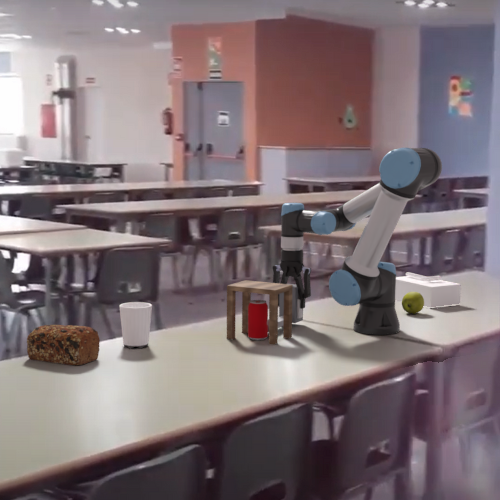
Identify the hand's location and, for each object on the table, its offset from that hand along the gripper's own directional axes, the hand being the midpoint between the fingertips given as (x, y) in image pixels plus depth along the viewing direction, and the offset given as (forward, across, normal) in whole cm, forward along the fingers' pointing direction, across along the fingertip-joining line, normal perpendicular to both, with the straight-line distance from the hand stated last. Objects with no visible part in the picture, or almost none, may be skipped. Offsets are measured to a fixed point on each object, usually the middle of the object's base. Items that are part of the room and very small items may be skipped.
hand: (291, 316), depth 312 cm
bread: (+3, +34, +76) cm, 84 cm away
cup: (+3, +26, +52) cm, 59 cm away
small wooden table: (+3, 0, +23) cm, 23 cm away
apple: (+3, -28, -41) cm, 50 cm away
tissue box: (+3, -24, -66) cm, 70 cm away
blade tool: (+1, 0, +8) cm, 9 cm away
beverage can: (+3, 0, +24) cm, 24 cm away
